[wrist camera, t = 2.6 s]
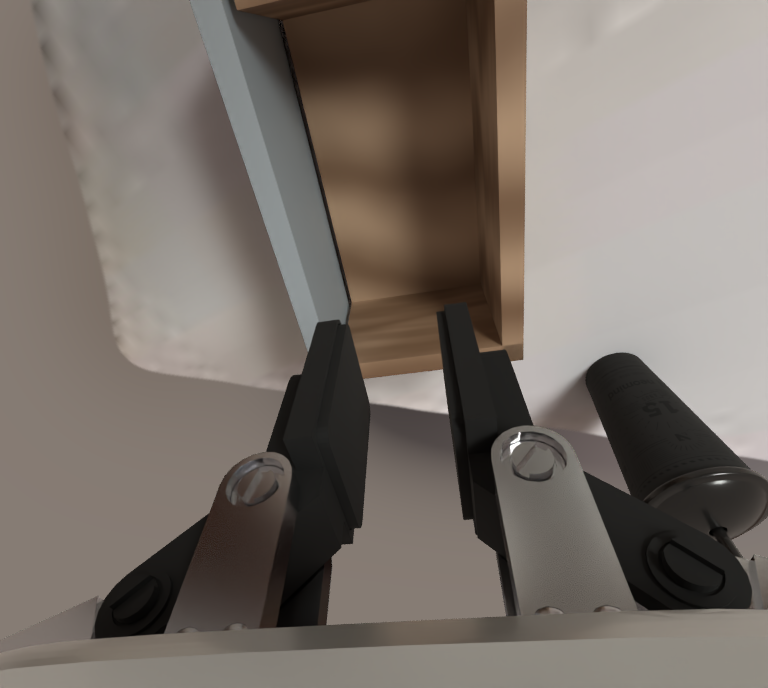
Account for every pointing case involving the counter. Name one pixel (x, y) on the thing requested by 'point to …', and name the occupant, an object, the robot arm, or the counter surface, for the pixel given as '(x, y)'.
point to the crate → (418, 163)
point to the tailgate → (275, 156)
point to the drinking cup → (674, 453)
